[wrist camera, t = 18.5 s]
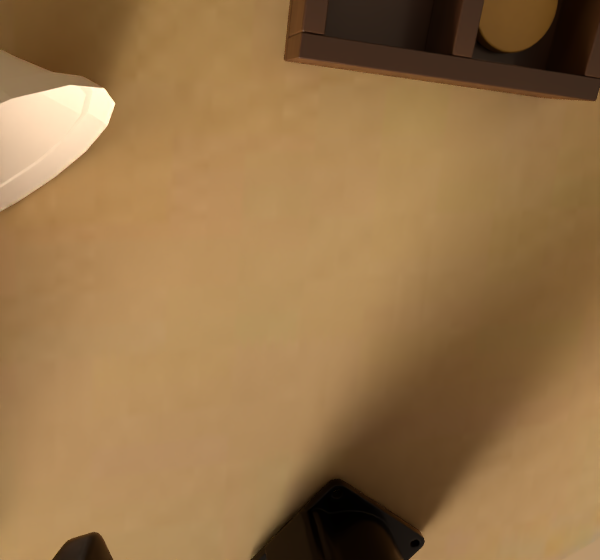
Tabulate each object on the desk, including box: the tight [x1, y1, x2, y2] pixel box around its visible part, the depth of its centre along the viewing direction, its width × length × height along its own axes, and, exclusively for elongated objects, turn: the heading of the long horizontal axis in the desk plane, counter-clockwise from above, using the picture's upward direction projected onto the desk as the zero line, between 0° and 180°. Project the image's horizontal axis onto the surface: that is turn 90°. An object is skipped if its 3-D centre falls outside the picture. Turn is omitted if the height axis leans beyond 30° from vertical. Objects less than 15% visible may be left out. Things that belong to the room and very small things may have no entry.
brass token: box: [476, 0, 558, 54], centre depth 18 cm, size 3×3×1 cm
